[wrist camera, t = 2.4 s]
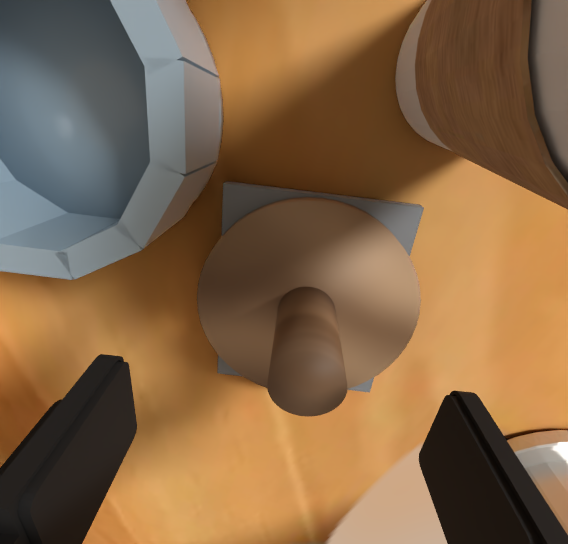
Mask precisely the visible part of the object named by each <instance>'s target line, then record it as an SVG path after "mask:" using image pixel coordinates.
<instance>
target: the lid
mask: <svg viewBox="0 0 568 544" xmlns="http://www.w3.org/2000/svg"><path fill="white" fill-rule="evenodd" d="M420 302H421V298H420V286H419V281H418V276H417V273H416V270H415V268H414V265H413V263H412V261H411V259H410V257H409V255H408V254H407V252H406V250H405V249H404V247H403V246H402V245H401V244H400V242H399V241H398V240H397V239H396V237H395V236H394V235H393V234H392V232H391V231H390V230H389V229H388V228H387V227H385V226H384V225H383V224H382V223H381V222H380V221H379V220H377V219H376V218H374V217H373V216H371V215H370V214H369V213H367V212H365V211H363V210H361V209H359V208H357V207H355V206H353V205H350V204H347V203H344V202H341V201H337V200H332V199H327V198H318V197H299V198H289V199H285V200H280V201H275V202H273V203H270V204H267V205H264V206H261V207H259V208H258V209H256V210H254V211H252V212H250V213H248V214H247V215H245V216H244V217H242V218H241V219H239V220H238V221H237V222H235V223H234V224H233V225H232V226H231V227H230V228H229V229H228V230H227V231H226V232H225V233H224V235H223V236H222V237H221V238H220V240H219V241H218V242H217V244H216V245H215V246H214V248H213V249H212V251H211V252H210V254H209V256H208V258H207V259H206V261H205V264H204V266H203V269H202V271H201V274H200V279H199V283H198V292H197V304H198V313H199V317H200V322H201V325H202V327H203V330H204V333H205V335H206V337H207V339H208V340H209V342H210V344H211V346H212V347H213V348H214V350H215V351H216V352H217V354H218V355H219V356H220V357H221V358H222V359H223V360H224V361H225V363H226V364H228V365H229V366H230V367H231V368H232V369H234V370H235V371H236V372H237V373H239V374H240V375H242V376H243V377H245V378H247V379H248V380H250V381H252V382H254V383H256V384H258V385H261V386H263V387H266V388H268V392H269V395H270V397H271V399H272V400H273V401H274V403H275V404H276V405H278V406H279V407H280V408H281V409H283V410H285V411H287V412H289V413H292V414H295V415H299V416H317V415H322V414H325V413H328V412H330V411H332V410H333V409H335V408H336V407H338V406H339V405H340V404H341V402H342V401H343V400H344V398H345V396H346V393H347V389H349V388H352V387H355V386H358V385H360V384H362V383H364V382H366V381H368V380H370V379H372V378H373V377H375V376H377V375H378V374H379V373H381V372H382V371H383V370H385V369H386V368H387V367H389V366H390V365H391V364H392V363H393V362H394V361H395V360H396V359H397V358H398V356H399V355H400V354H401V353H402V351H403V350H404V349H405V347H406V346H407V344H408V342H409V341H410V339H411V337H412V335H413V332H414V330H415V327H416V325H417V321H418V317H419V312H420Z"/></svg>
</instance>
